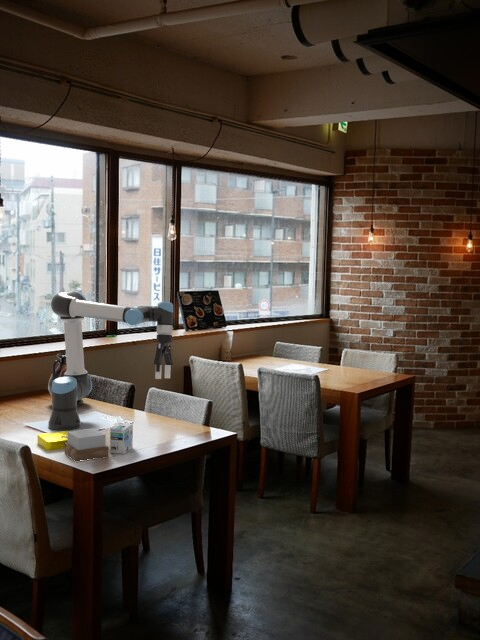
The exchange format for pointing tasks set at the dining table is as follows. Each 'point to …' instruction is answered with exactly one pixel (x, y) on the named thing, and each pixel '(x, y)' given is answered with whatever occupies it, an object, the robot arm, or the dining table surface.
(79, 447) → the tower top
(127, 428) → the light bulb box
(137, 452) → the dining table surface
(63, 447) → the element tile
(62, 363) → the amphora vase
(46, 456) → the dining table surface
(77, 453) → the tower base
